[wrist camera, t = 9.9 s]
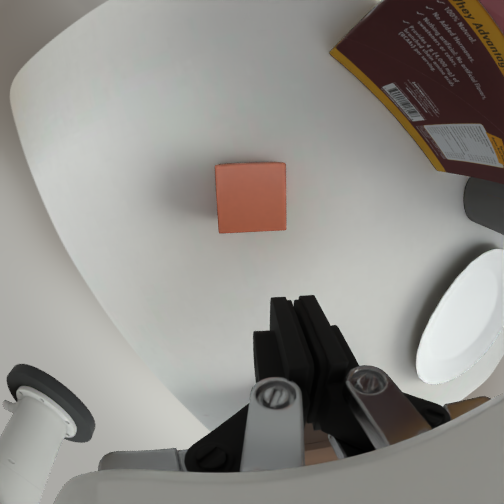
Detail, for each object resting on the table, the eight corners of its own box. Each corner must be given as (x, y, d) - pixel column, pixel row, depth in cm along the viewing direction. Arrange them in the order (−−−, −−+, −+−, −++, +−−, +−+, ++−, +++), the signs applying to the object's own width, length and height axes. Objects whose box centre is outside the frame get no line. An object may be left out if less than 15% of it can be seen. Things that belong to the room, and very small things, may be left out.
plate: (512, 223, 24) (522, 227, 22) (495, 336, 31) (502, 343, 29) (407, 278, 25) (418, 288, 23) (404, 395, 32) (410, 405, 30)
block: (221, 219, 22) (218, 234, 18) (218, 163, 20) (214, 165, 16) (276, 216, 22) (286, 230, 18) (275, 161, 21) (285, 162, 16)
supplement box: (380, 2, 15) (475, -65, 1) (474, 111, 19) (585, 116, 5) (325, 52, 18) (436, -45, 3) (436, 172, 21) (570, 208, 7)
